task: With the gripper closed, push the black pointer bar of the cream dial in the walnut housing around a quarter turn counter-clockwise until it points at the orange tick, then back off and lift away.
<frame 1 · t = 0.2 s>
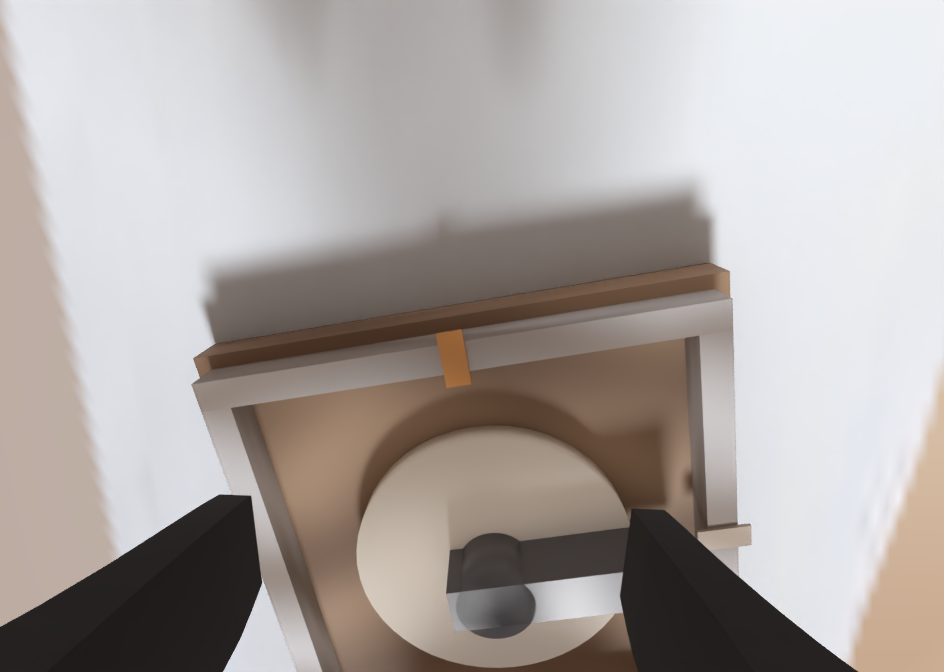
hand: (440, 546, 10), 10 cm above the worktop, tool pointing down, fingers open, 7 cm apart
dial: (516, 572, 18), point 3 cm above the worktop, hinge at 0.0°
dial housing: (493, 515, 21), on the worktop
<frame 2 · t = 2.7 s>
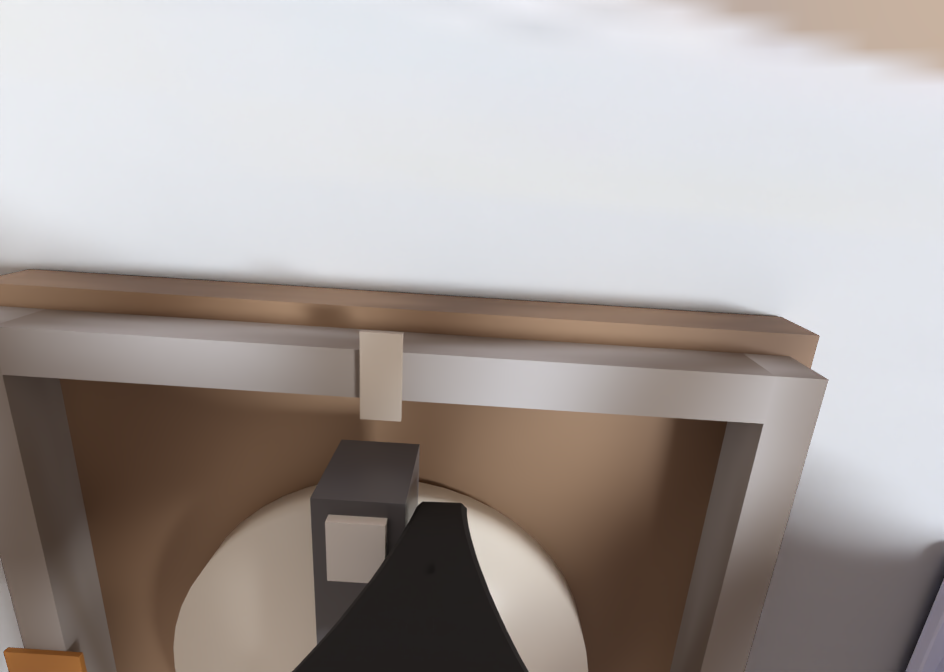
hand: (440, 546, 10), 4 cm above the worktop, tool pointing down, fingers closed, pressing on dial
dial housing: (398, 594, 15), on the worktop
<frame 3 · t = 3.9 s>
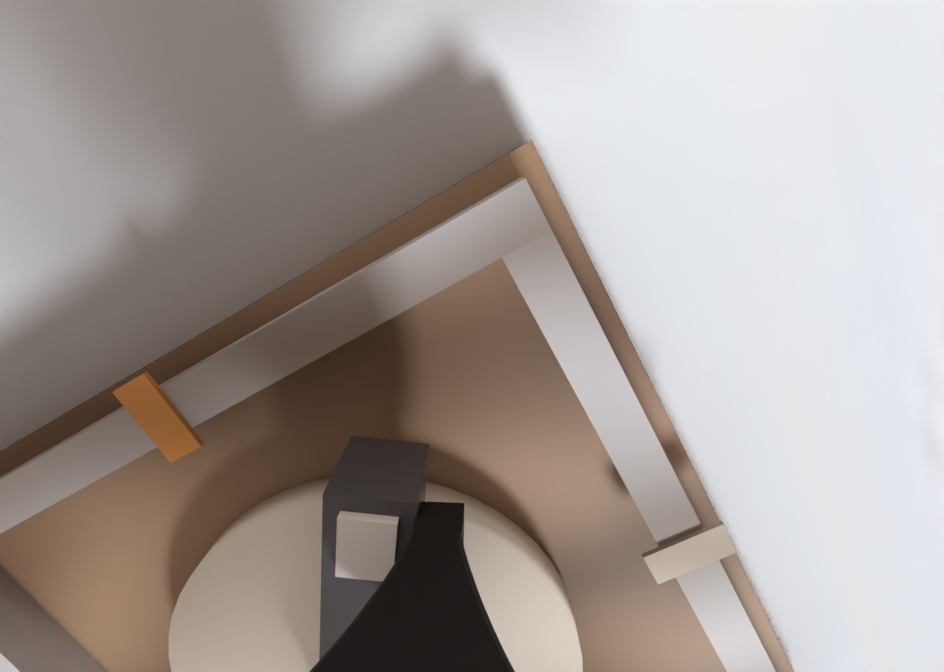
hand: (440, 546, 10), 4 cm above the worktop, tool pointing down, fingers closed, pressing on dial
dial housing: (393, 591, 15), on the worktop
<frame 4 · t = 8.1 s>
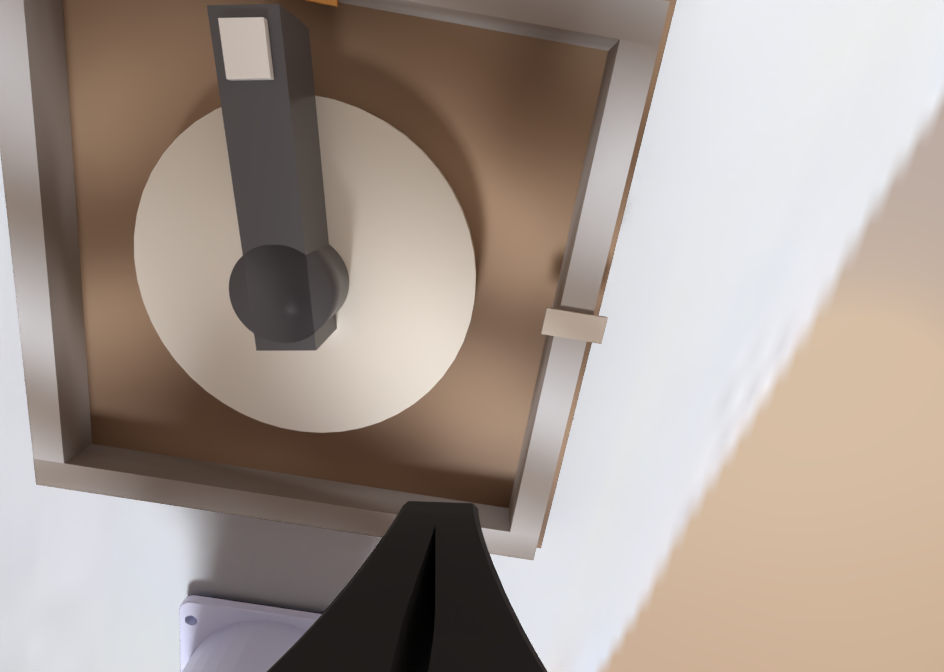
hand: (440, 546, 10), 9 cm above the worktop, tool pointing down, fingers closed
dial: (295, 257, 14), point 3 cm above the worktop, hinge at 99.9°
dial housing: (331, 264, 18), on the worktop
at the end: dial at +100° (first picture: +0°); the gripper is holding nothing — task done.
